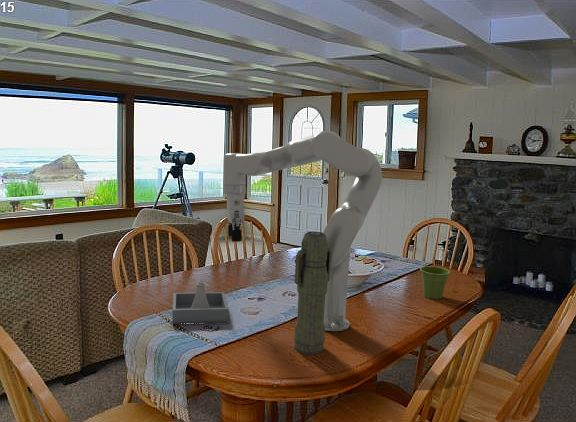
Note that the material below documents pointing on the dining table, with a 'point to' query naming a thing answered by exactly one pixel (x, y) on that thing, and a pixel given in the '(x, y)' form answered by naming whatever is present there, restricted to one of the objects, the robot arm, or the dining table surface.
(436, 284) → the plant pot
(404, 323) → the dining table surface
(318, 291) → the grey stone statue
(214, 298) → the bin
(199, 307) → the flask
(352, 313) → the dining table surface
